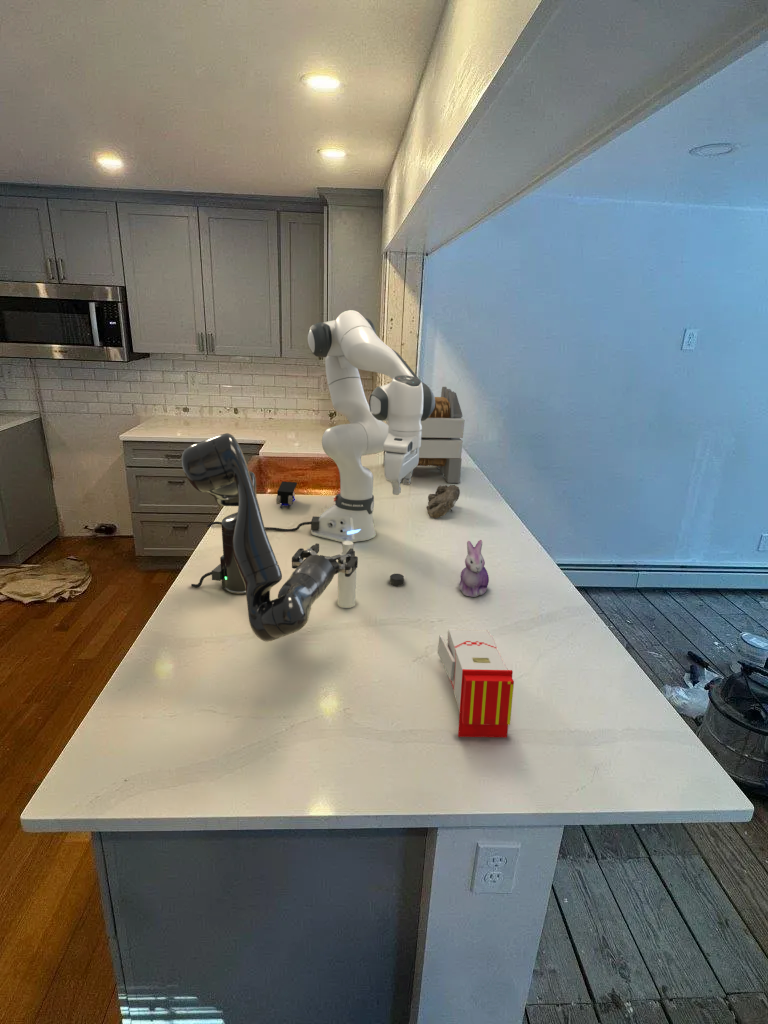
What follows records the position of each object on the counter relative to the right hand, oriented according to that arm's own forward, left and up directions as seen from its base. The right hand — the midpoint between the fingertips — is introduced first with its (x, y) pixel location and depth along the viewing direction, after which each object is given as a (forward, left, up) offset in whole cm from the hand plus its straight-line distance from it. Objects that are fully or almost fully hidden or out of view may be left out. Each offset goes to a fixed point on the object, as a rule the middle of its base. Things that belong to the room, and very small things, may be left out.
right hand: (401, 489), depth 154 cm
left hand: (-9, -27, -8) cm, 30 cm away
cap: (0, 0, -27) cm, 27 cm away
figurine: (+22, +3, -28) cm, 36 cm away
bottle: (-10, -16, -28) cm, 34 cm away
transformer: (-19, +117, -28) cm, 122 cm away
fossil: (+1, +67, -28) cm, 73 cm away
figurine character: (-58, +50, -28) cm, 82 cm away
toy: (+27, -43, -28) cm, 58 cm away
